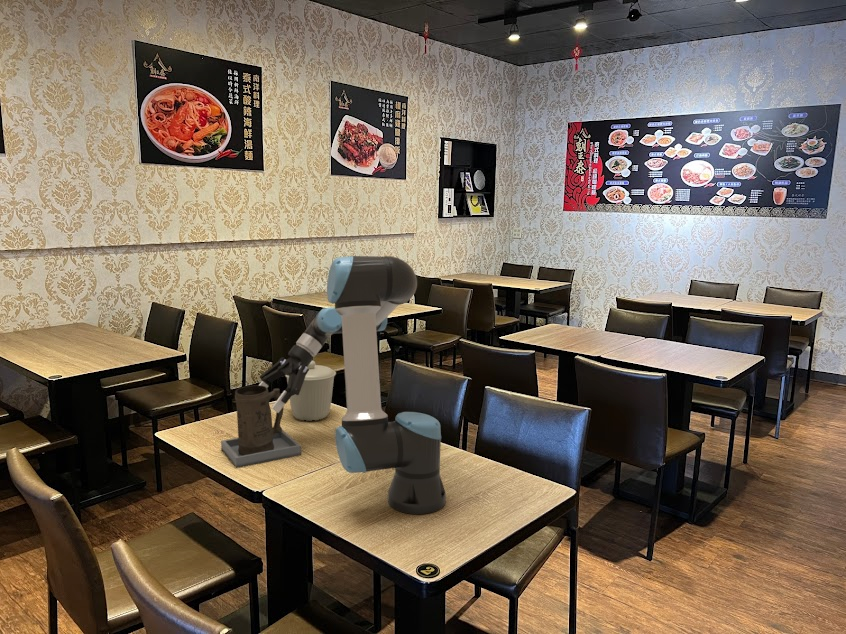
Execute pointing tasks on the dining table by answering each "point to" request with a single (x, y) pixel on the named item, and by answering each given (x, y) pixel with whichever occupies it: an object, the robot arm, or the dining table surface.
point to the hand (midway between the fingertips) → (263, 405)
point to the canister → (314, 394)
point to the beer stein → (256, 419)
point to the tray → (282, 449)
